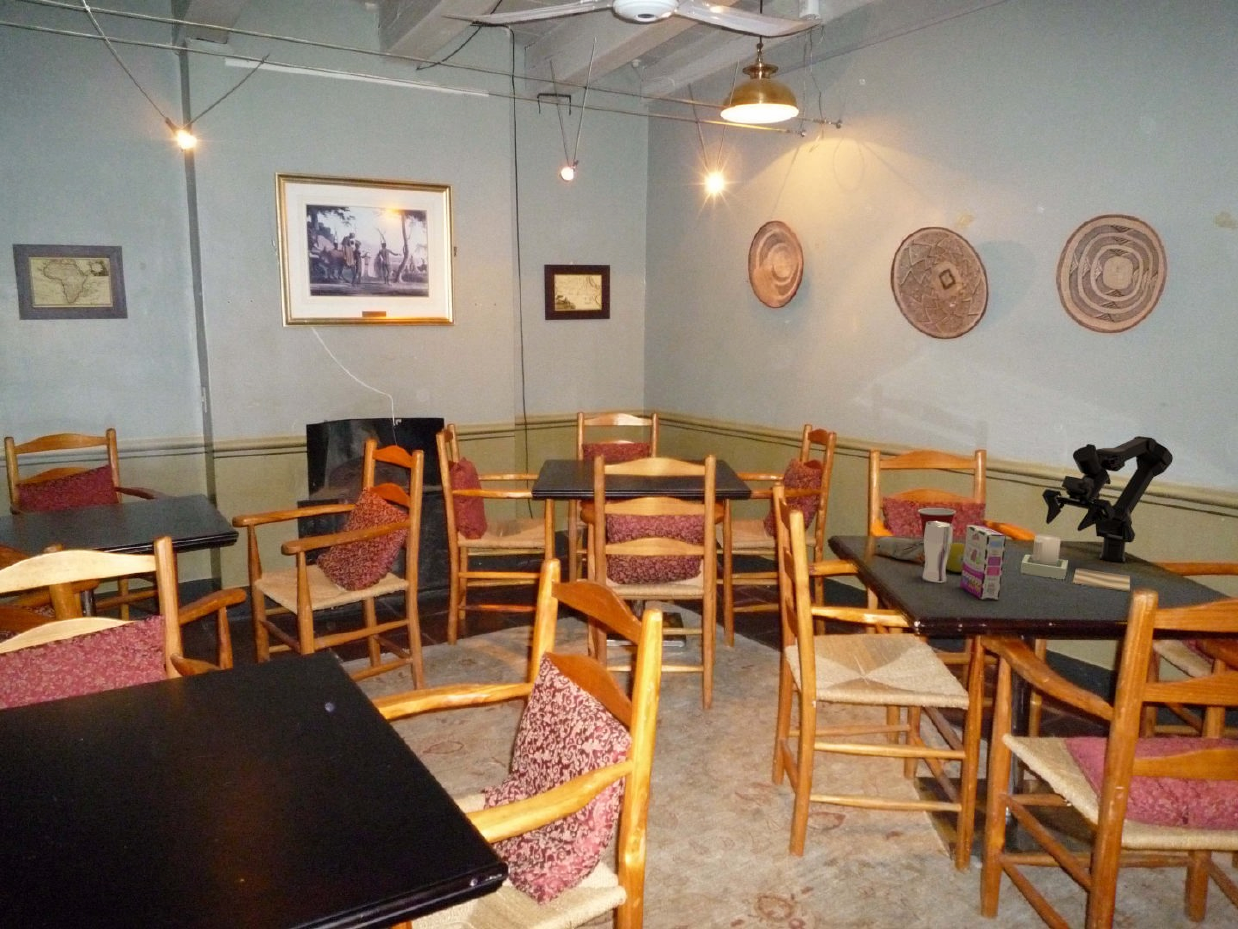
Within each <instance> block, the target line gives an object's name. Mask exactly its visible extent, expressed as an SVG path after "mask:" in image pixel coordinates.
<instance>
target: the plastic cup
mask: <svg viewBox="0 0 1238 929" xmlns="http://www.w3.org/2000/svg"><path fill="white" fill-rule="evenodd" d="M917 512H918V514H919V518H920V522H921V530H922V537H923V538H922V539H923V540H924V533H925V528H926V522H929V521H939V522H946V523H950V524H952V523H953V520H954V516H955V514H956V513H957V512H956V510H954V509H950V508H943V507H942V508H941V507H927V508H926V507H925V508H921V509H918V510H917Z"/></svg>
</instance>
